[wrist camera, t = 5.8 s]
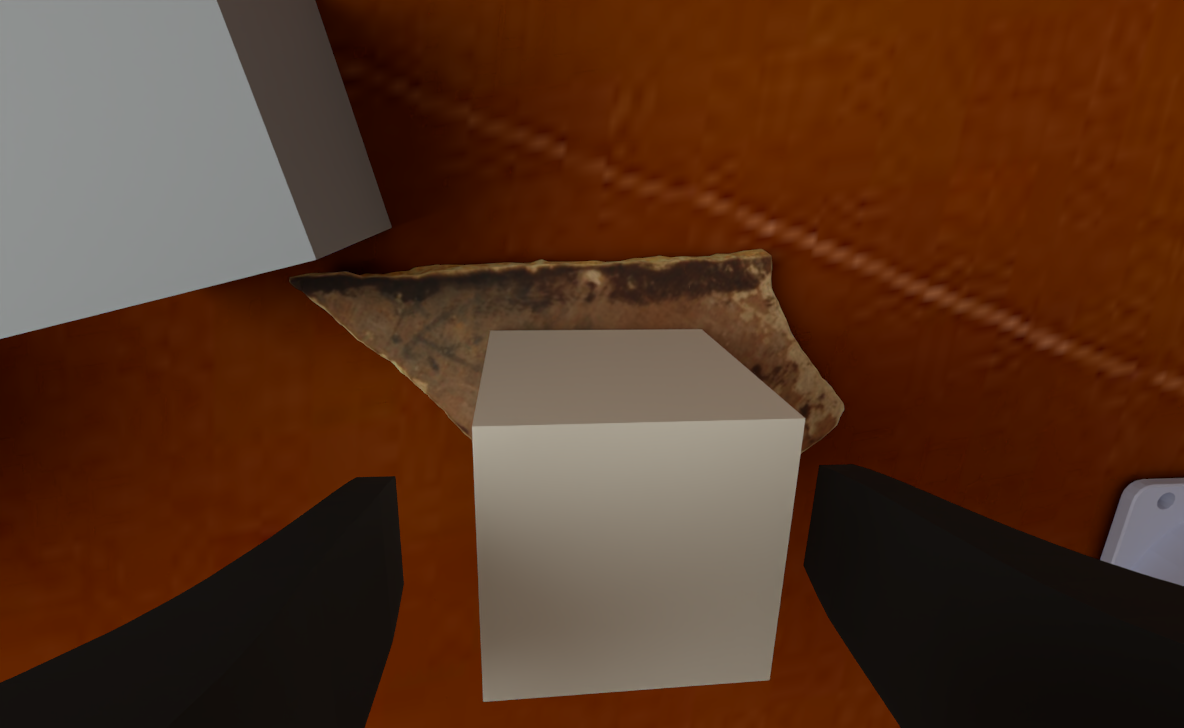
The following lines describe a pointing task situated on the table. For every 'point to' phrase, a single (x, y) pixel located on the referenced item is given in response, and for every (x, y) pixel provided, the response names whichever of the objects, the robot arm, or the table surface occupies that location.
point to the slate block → (168, 151)
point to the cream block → (628, 512)
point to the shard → (571, 318)
